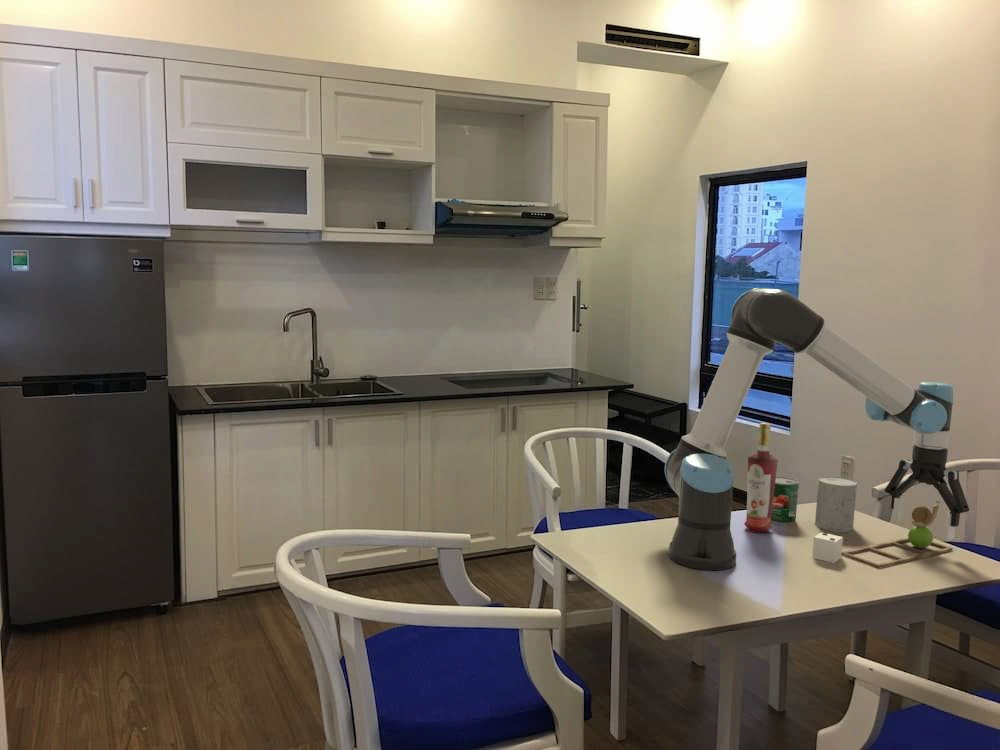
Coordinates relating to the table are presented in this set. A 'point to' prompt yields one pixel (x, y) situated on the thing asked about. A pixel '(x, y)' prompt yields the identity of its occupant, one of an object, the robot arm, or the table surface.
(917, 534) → the snail figurine
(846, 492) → the grey cylinder
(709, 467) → the robot arm
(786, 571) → the table surface
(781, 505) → the canned tomato
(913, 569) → the table surface
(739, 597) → the table surface
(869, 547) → the wooden ladder frame
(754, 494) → the liquor
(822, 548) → the die
